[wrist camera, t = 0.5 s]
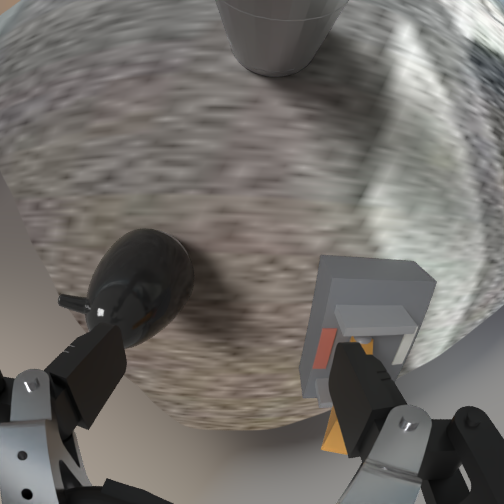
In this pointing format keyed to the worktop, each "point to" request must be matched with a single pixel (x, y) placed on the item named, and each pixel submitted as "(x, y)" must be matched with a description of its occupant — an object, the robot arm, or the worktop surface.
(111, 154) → the worktop surface
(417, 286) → the switch box
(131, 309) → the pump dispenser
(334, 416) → the lever
